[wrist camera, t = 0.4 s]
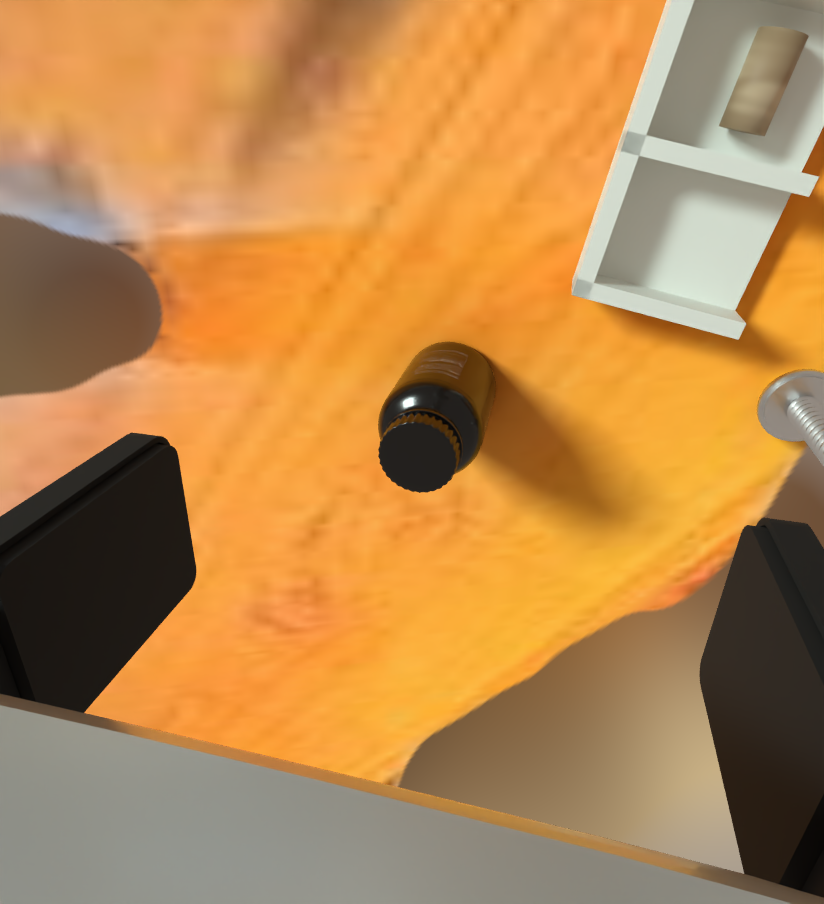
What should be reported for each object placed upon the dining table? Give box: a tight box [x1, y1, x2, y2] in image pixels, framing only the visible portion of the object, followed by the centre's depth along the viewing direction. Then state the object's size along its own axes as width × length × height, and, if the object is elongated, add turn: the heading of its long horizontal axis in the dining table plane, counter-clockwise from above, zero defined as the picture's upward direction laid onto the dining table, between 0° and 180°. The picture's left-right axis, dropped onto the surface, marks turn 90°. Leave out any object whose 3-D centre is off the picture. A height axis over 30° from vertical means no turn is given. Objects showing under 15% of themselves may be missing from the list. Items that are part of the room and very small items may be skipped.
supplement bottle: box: [378, 342, 496, 493], centre depth 41 cm, size 7×7×12 cm
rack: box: [572, 0, 824, 340], centre depth 35 cm, size 17×10×4 cm, turn 168°
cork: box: [719, 26, 809, 136], centre depth 32 cm, size 4×2×2 cm, turn 168°
